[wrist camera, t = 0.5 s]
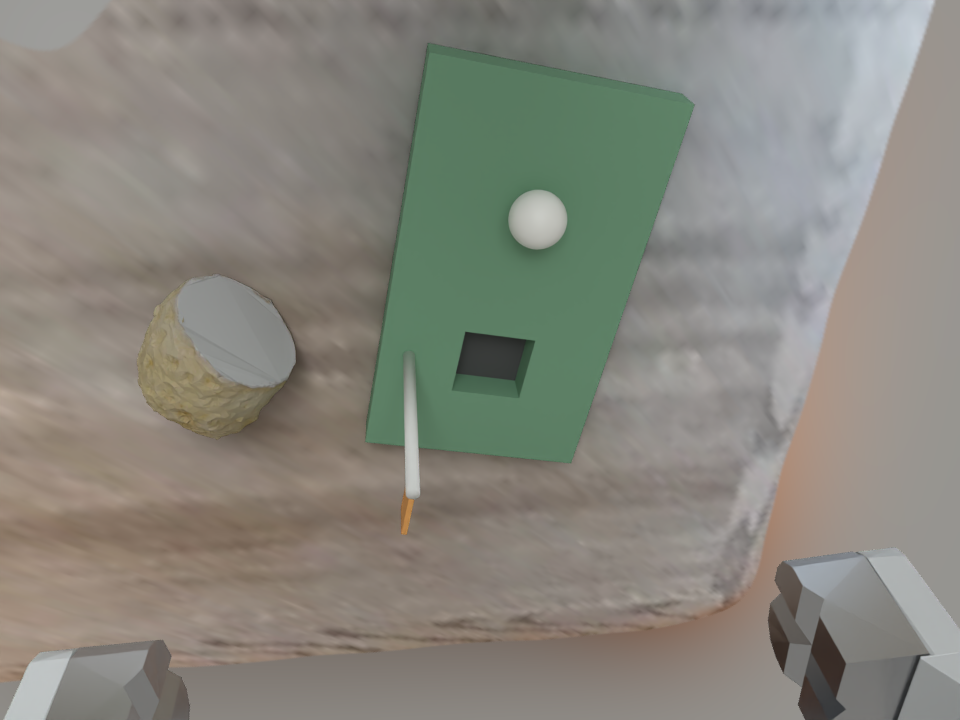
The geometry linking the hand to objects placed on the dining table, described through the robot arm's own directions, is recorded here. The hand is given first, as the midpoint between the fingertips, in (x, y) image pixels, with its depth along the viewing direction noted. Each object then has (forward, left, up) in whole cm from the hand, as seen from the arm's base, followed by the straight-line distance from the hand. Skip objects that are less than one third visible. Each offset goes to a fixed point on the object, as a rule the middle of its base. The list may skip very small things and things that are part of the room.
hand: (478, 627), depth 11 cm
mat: (+15, +9, -42) cm, 45 cm away
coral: (+22, -10, -42) cm, 48 cm away
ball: (+9, +9, -38) cm, 40 cm away
